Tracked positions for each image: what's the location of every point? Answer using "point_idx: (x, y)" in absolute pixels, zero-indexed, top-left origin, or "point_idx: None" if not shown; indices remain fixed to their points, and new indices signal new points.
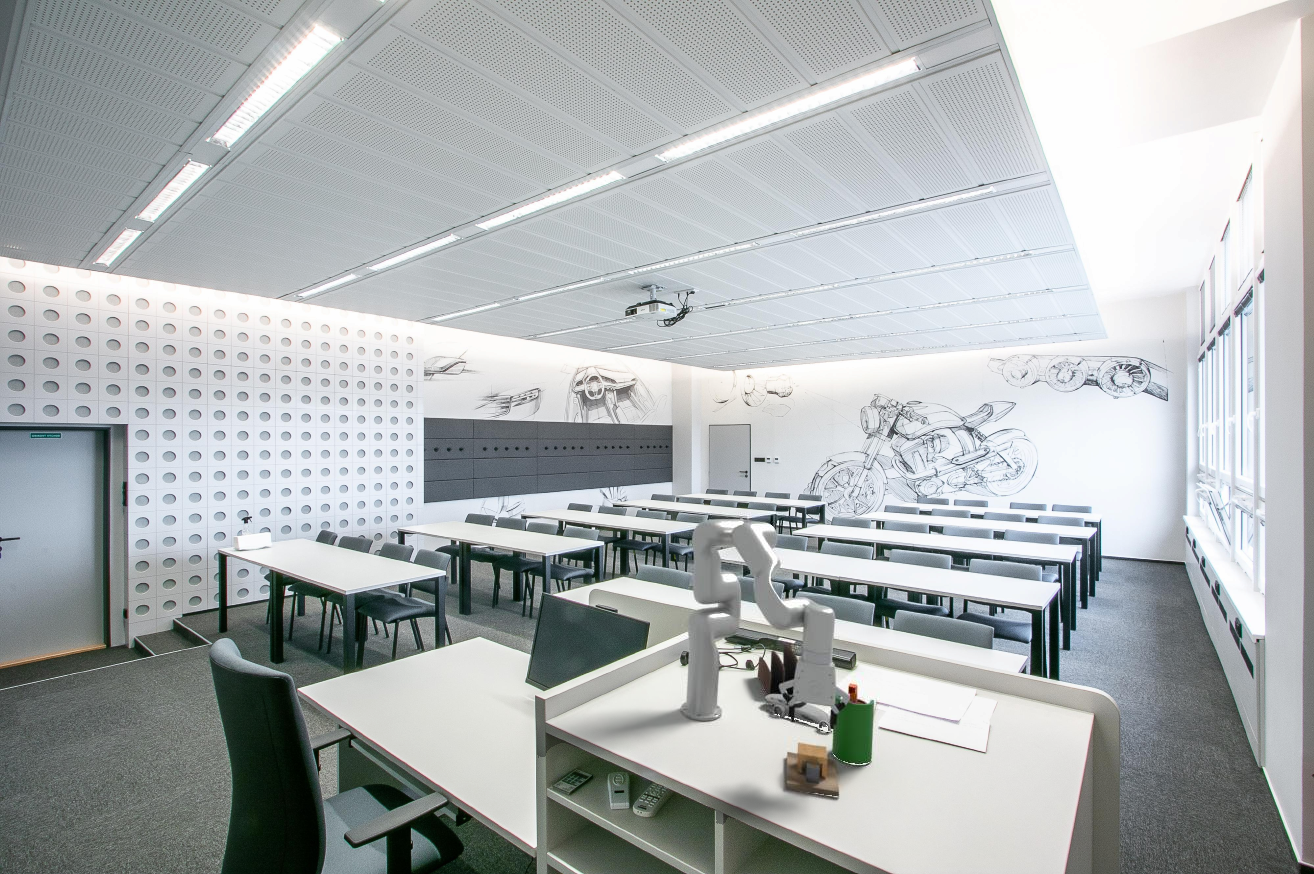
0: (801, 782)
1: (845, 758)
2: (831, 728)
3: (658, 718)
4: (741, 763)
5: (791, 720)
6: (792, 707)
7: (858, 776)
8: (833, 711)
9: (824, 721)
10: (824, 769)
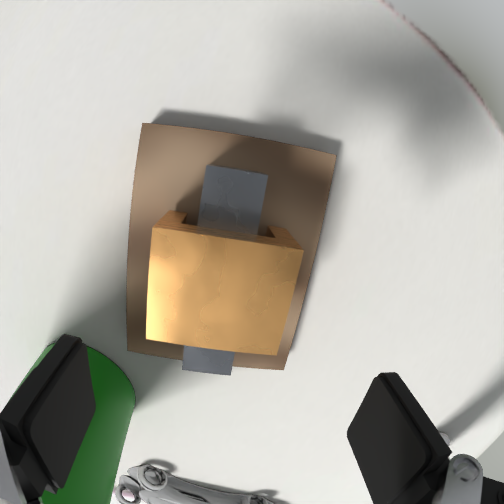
0: (279, 165)
1: (95, 360)
2: (77, 337)
3: (486, 406)
4: (423, 291)
5: (397, 378)
6: (446, 449)
7: (66, 283)
8: (15, 450)
9: (152, 486)
10: (174, 216)
